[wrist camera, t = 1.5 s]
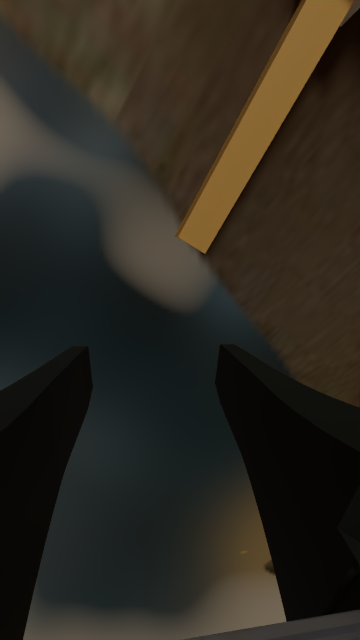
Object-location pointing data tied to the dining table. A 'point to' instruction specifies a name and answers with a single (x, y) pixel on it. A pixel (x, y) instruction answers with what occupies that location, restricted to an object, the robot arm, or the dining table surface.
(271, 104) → the wooden stick
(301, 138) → the dining table surface
